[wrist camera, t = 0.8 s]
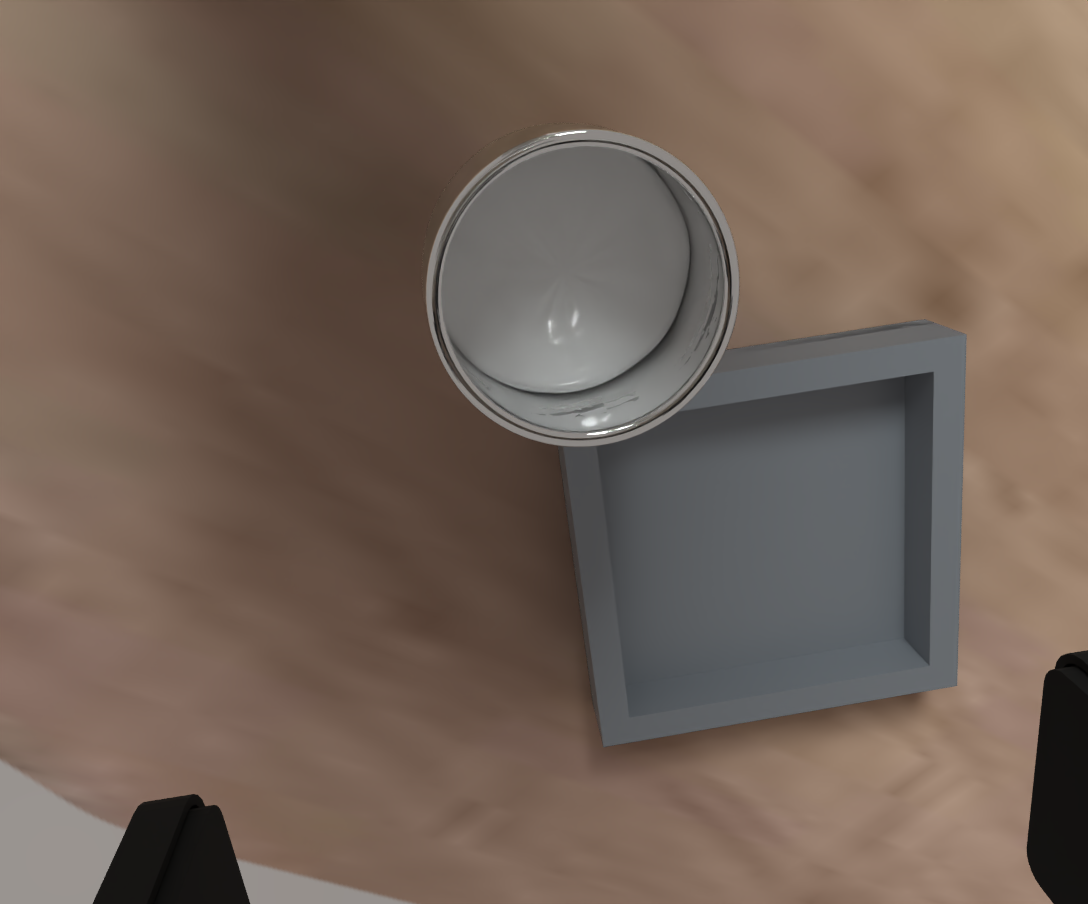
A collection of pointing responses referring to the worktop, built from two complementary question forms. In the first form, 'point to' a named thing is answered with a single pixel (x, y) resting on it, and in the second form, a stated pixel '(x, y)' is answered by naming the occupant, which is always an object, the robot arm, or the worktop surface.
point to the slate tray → (777, 536)
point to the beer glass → (578, 283)
